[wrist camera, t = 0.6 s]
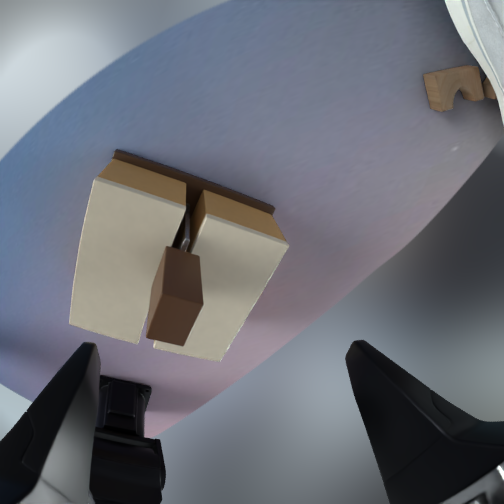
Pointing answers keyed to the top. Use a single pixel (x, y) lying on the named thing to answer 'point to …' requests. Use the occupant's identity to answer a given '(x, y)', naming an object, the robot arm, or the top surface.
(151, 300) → the brown wooden block
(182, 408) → the top surface
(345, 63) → the top surface
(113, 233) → the beige cardboard box
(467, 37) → the boat shoe
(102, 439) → the robot arm
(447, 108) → the wooden blocks
